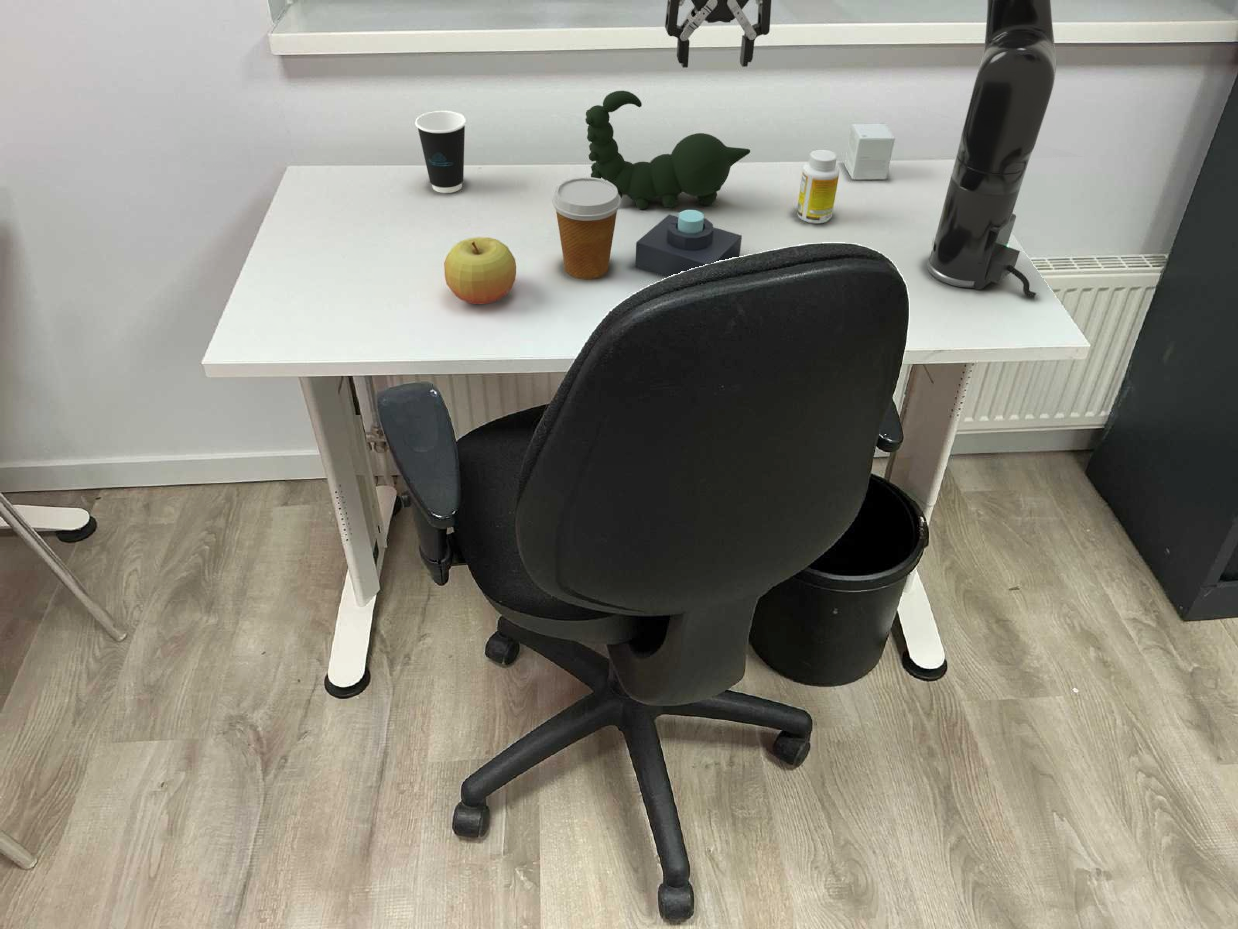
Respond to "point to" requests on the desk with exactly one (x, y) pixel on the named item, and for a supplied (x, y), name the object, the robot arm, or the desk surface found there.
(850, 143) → the product box
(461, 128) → the dixie cup
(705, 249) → the button housing
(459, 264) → the apple
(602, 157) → the toy figurine
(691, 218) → the teal button cap
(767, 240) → the desk surface
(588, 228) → the disposable coffee cup
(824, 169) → the supplement bottle
